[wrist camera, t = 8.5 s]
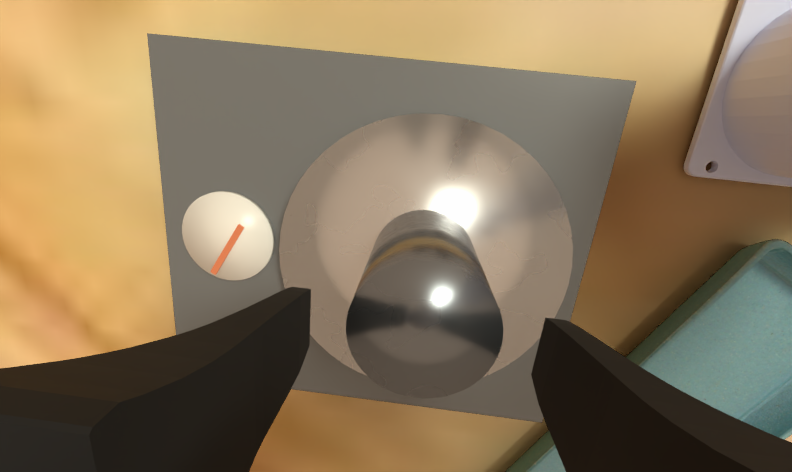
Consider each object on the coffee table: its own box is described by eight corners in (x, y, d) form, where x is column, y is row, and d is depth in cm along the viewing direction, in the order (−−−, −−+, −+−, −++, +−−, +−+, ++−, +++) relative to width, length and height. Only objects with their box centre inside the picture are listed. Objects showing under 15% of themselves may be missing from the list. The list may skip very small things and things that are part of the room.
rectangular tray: (740, 222, 18) (788, 237, 16) (866, 318, 19) (928, 346, 17) (433, 518, 26) (434, 558, 23) (535, 576, 27) (546, 620, 24)
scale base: (611, 86, 16) (642, 79, 14) (531, 395, 21) (544, 428, 19) (178, 43, 17) (140, 31, 15) (200, 352, 22) (175, 378, 20)
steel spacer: (478, 211, 15) (512, 264, 10) (469, 307, 17) (494, 403, 11) (372, 207, 16) (344, 256, 10) (372, 302, 17) (347, 393, 11)
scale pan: (599, 131, 15) (609, 131, 14) (532, 392, 19) (536, 403, 18) (286, 98, 15) (279, 97, 15) (284, 359, 19) (278, 369, 18)
